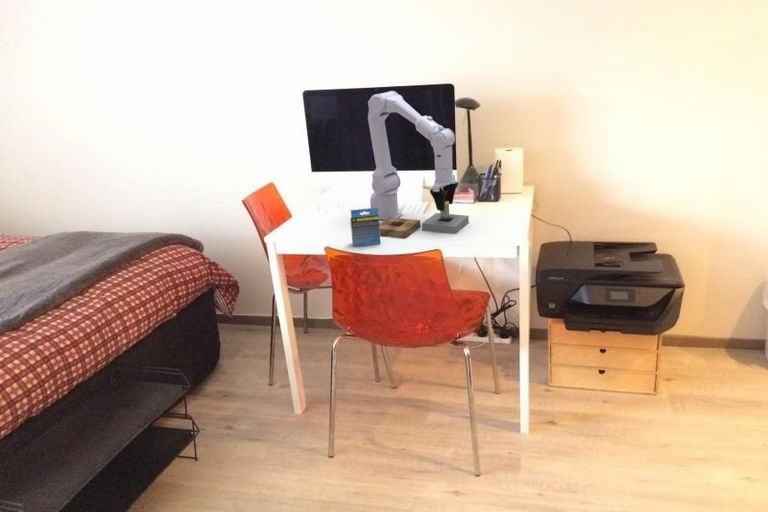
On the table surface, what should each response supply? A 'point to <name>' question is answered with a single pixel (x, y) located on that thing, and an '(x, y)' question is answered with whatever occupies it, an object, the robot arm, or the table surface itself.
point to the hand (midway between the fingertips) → (444, 206)
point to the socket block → (398, 227)
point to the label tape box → (365, 227)
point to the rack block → (445, 223)
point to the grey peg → (445, 212)
